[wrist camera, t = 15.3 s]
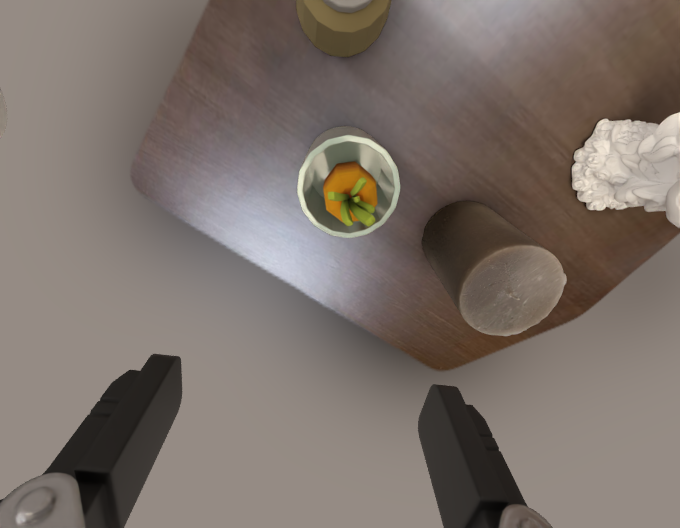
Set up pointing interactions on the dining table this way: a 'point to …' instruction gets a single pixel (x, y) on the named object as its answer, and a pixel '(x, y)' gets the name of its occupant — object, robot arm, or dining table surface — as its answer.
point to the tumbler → (340, 149)
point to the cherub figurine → (631, 167)
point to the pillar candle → (492, 269)
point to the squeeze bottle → (342, 24)
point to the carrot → (350, 193)
